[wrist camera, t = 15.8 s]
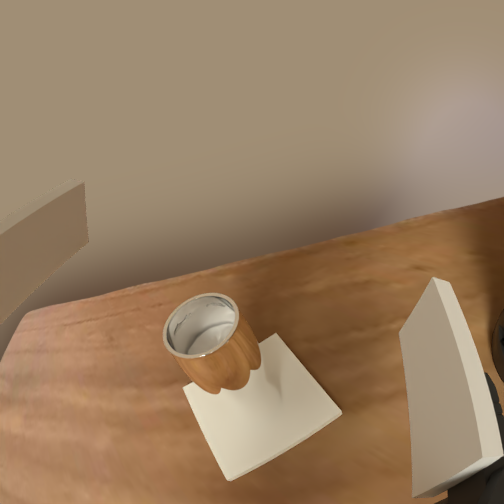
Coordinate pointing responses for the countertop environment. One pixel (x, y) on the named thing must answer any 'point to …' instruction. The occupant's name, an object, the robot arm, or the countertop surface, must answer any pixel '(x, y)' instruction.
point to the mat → (274, 429)
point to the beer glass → (222, 356)
